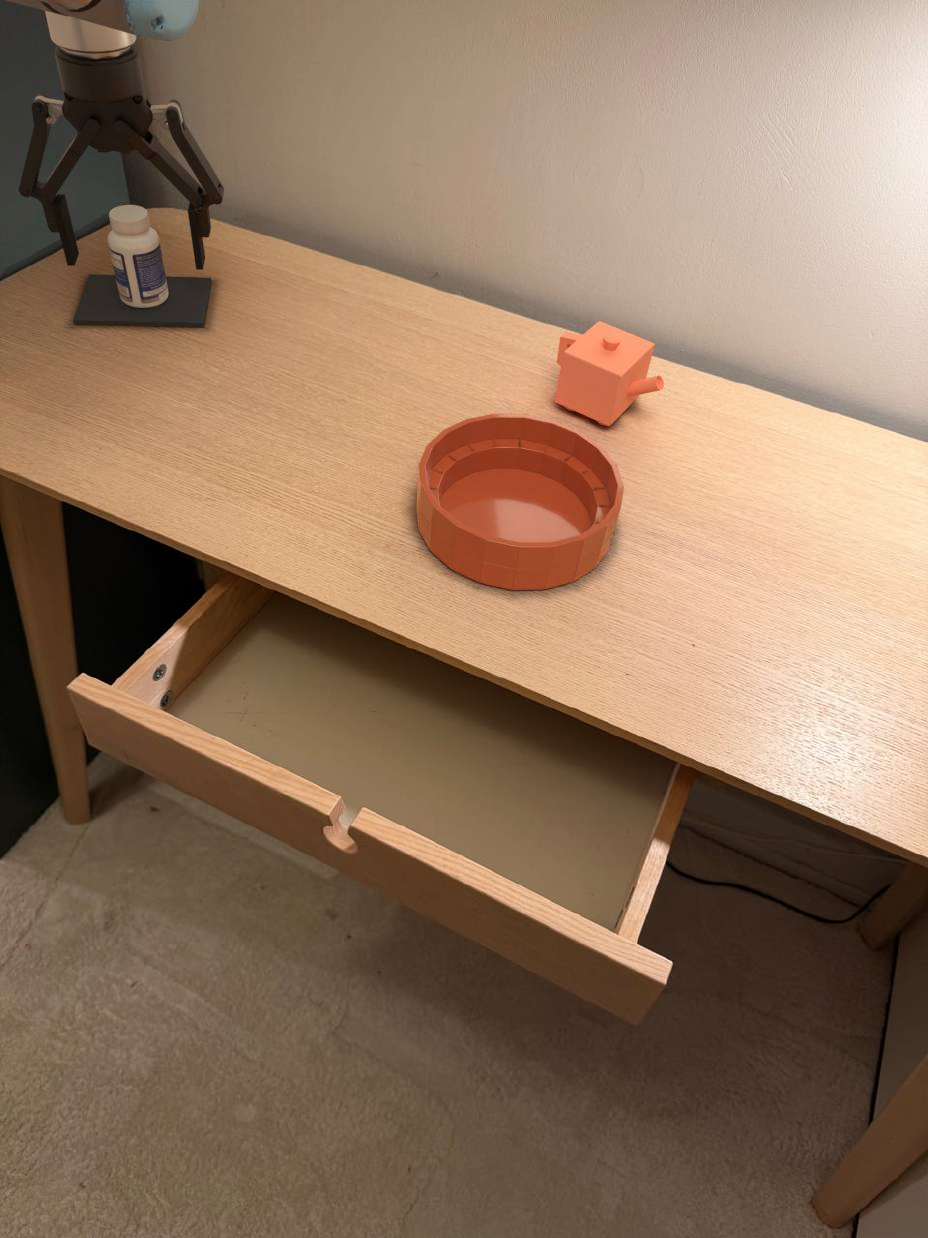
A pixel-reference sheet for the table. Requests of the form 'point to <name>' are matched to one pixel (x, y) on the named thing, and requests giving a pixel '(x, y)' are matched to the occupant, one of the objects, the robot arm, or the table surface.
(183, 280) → the mat
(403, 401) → the table surface
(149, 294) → the pill bottle
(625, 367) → the pink cube teapot
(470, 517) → the bowl
